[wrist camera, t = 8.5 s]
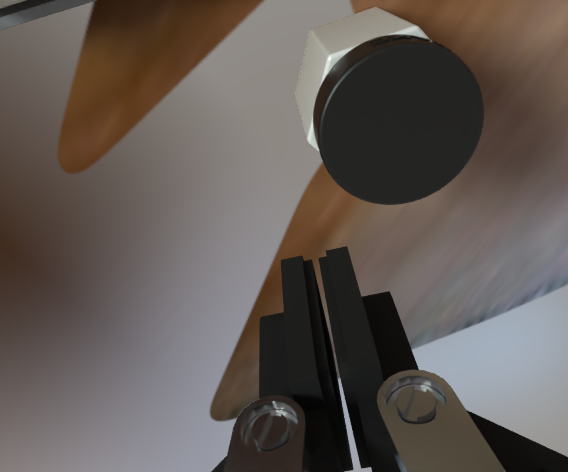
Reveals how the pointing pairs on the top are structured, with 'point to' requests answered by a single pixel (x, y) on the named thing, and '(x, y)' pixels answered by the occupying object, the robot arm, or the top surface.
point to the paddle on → (9, 2)
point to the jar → (387, 107)
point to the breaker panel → (34, 10)
